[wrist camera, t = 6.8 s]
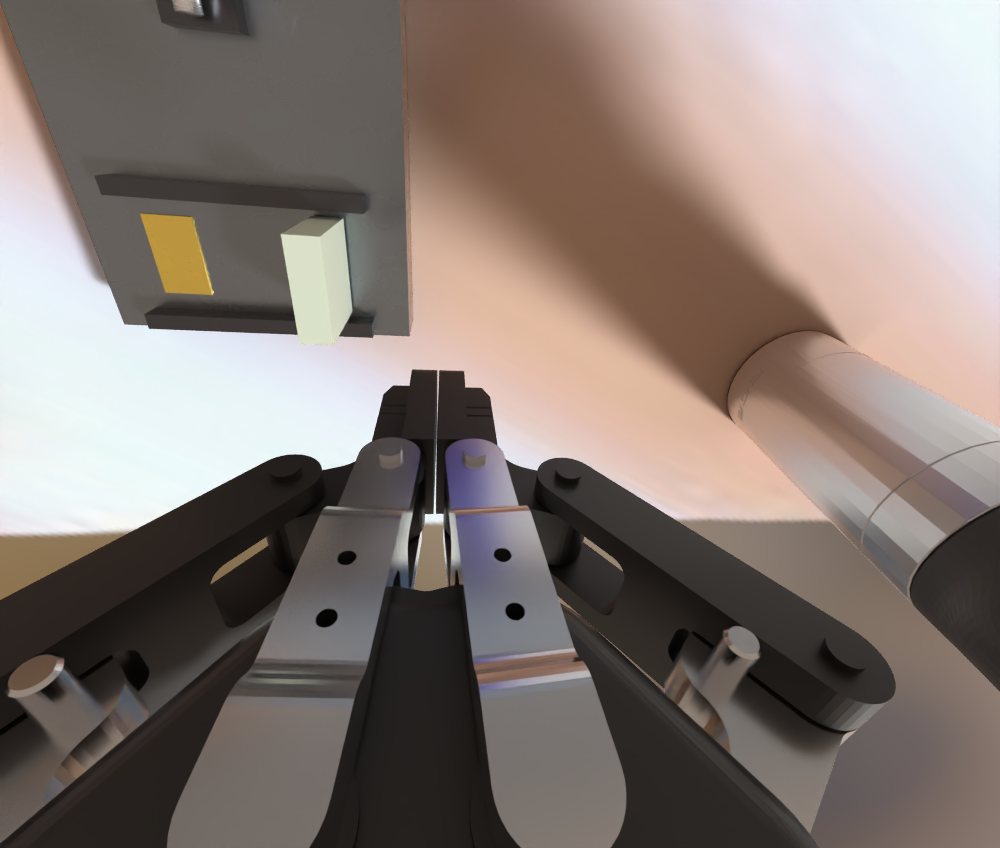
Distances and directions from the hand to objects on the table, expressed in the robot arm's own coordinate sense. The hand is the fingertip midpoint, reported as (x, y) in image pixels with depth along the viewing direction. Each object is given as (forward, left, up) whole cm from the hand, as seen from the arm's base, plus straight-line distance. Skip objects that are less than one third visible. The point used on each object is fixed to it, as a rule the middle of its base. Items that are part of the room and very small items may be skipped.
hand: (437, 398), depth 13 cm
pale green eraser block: (+6, 0, -14) cm, 16 cm away
